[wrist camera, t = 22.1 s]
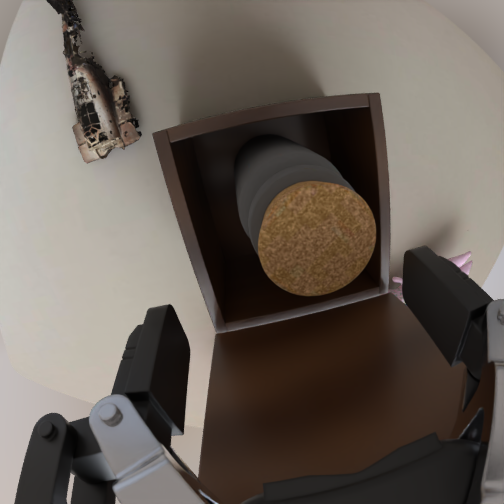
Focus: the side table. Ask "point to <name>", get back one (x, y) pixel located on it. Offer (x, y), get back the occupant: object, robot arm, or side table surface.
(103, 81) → the airplane wreck
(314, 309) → the chest
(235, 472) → the lid
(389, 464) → the robot arm
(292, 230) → the bottle
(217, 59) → the side table surface
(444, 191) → the side table surface
